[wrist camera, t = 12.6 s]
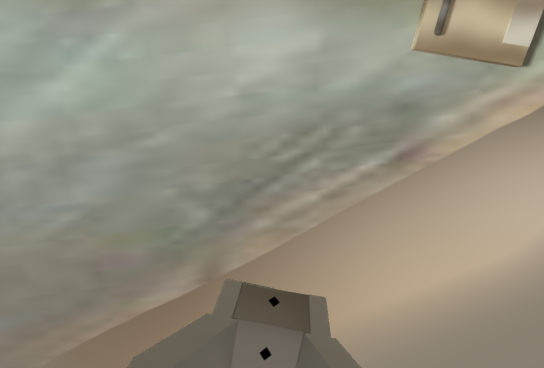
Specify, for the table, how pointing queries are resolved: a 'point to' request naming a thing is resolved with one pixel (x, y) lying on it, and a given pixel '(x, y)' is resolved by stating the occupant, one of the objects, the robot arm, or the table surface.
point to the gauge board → (478, 29)
